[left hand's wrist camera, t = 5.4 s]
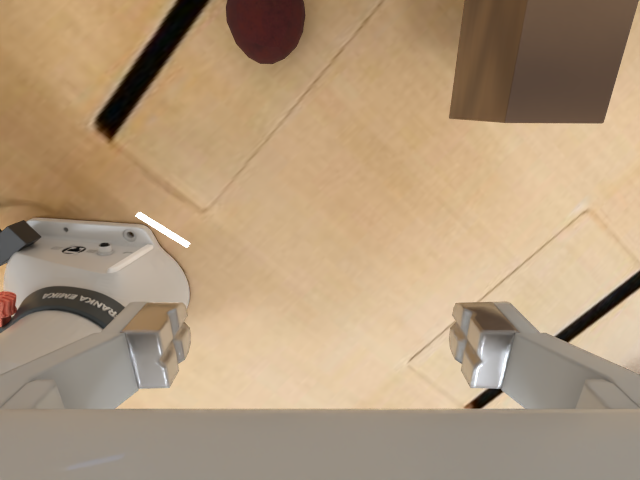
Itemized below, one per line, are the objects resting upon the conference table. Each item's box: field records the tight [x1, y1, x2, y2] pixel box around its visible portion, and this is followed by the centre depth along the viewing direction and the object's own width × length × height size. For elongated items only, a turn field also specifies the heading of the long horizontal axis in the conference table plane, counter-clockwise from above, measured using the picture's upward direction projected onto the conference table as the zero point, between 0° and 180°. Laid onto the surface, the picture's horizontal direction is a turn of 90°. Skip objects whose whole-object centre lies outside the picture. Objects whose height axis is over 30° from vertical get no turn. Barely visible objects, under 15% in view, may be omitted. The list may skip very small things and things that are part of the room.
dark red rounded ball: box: [226, 0, 305, 64], centre depth 32 cm, size 7×8×7 cm
